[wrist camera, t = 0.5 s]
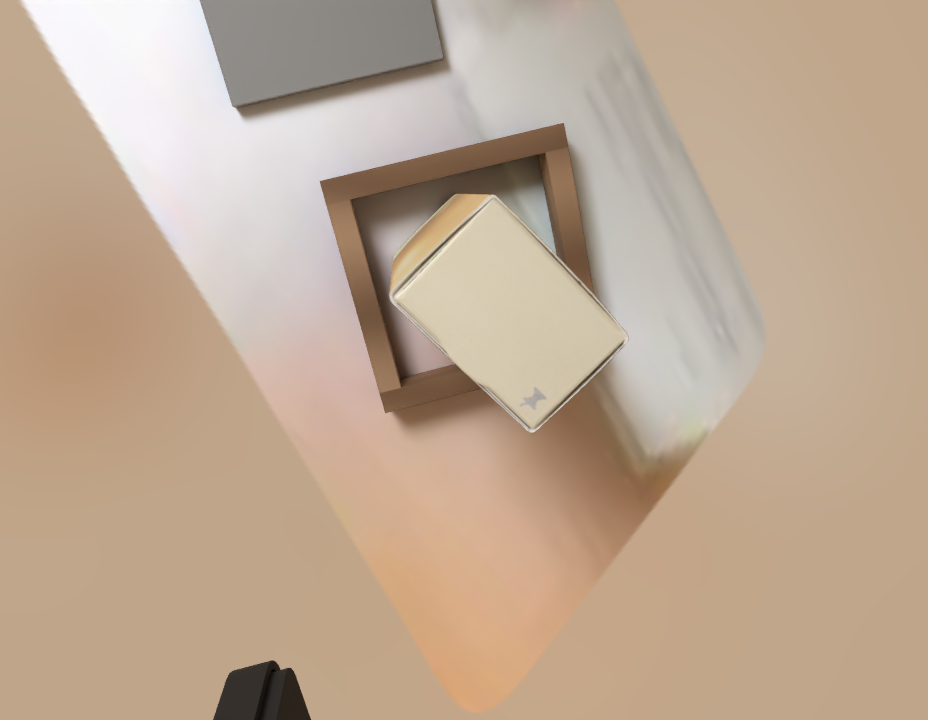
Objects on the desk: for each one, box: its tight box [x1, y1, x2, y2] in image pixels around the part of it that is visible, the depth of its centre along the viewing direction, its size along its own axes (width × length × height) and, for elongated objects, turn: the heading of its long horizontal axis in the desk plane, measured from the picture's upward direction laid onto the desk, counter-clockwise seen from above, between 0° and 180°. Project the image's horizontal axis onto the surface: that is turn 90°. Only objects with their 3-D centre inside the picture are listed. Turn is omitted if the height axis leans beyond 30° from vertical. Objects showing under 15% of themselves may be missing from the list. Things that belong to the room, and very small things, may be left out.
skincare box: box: [389, 194, 629, 433], centre depth 25 cm, size 6×4×12 cm
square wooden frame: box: [320, 123, 594, 413], centre depth 30 cm, size 11×11×2 cm
